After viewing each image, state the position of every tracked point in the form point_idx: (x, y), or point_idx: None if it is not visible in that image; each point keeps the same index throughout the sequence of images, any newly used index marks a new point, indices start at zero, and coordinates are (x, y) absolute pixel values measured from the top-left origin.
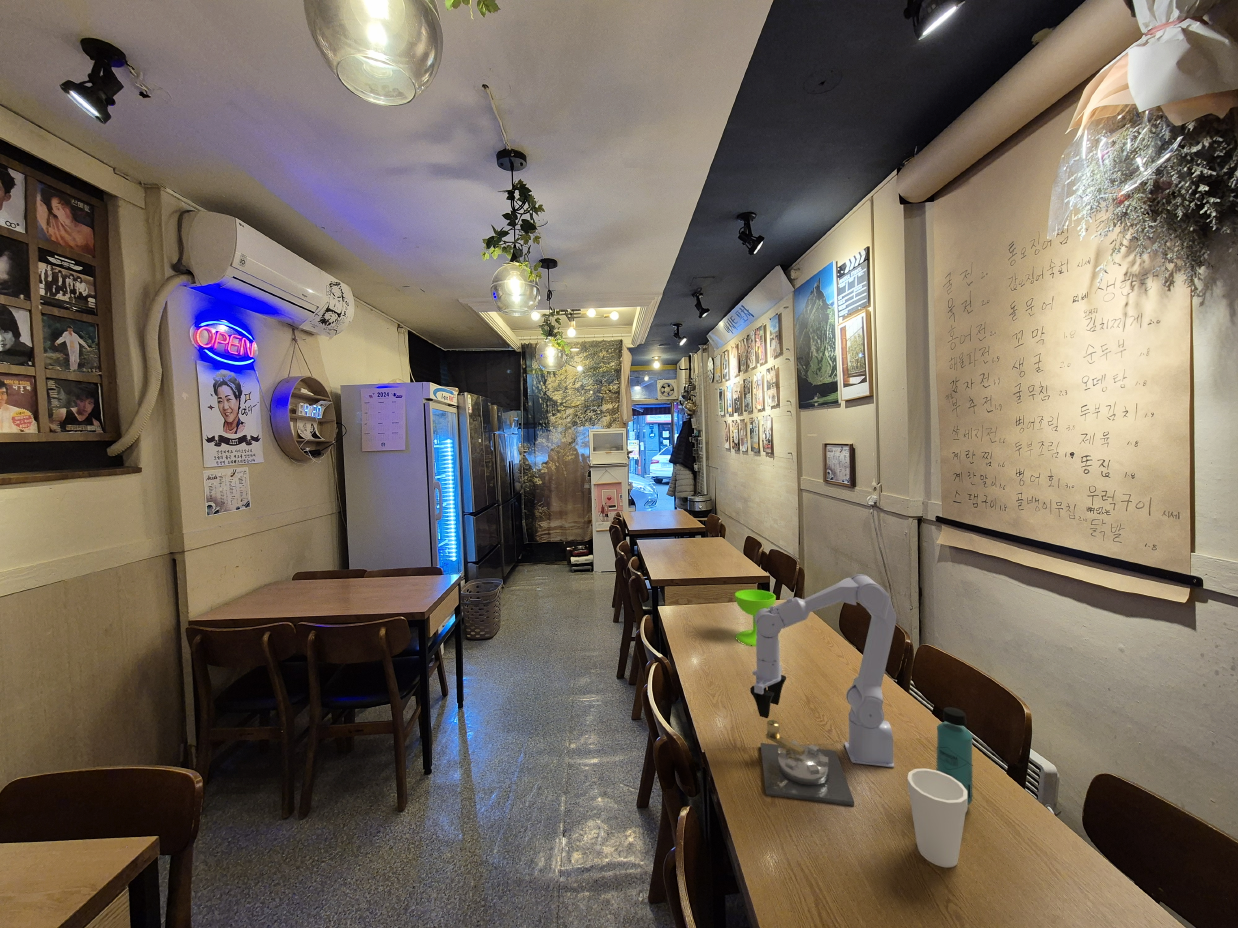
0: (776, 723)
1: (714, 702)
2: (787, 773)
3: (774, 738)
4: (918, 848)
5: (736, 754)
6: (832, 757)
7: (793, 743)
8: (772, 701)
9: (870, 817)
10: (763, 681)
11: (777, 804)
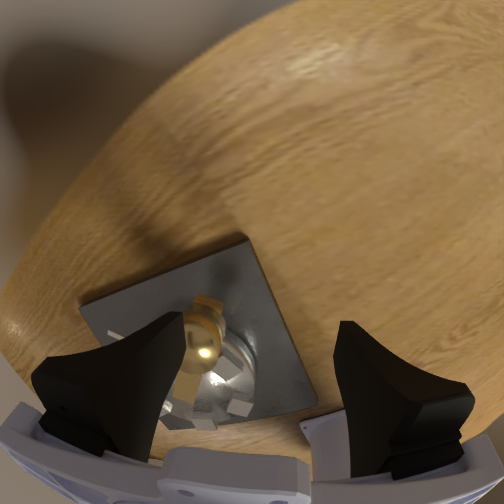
0: (197, 364)
1: (419, 24)
2: None
3: None
4: (153, 459)
5: (162, 185)
6: (286, 404)
7: (199, 380)
8: (340, 339)
9: (164, 435)
10: (87, 496)
11: (80, 326)
